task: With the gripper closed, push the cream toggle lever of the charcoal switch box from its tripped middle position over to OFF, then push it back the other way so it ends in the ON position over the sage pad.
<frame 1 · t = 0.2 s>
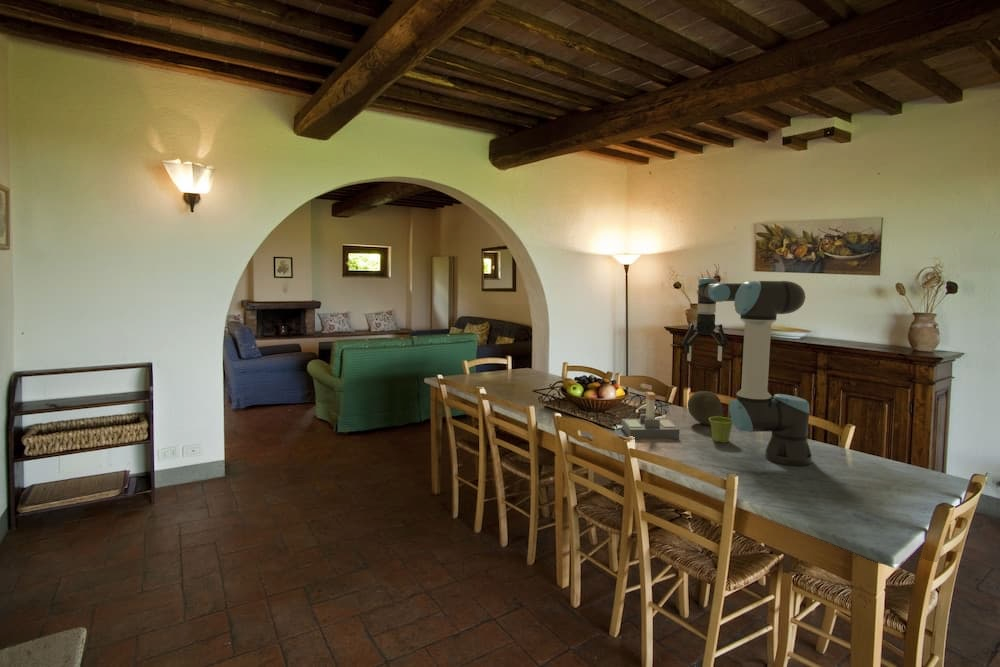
hand: (704, 360, 250), 28 cm above the table, fingers open, 13 cm apart
switch box: (649, 433, 237), on the table
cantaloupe: (704, 424, 250), on the table
plant pot: (720, 440, 227), on the table
toggle lever: (650, 408, 235), point 11 cm above the table, hinge at 0.0°
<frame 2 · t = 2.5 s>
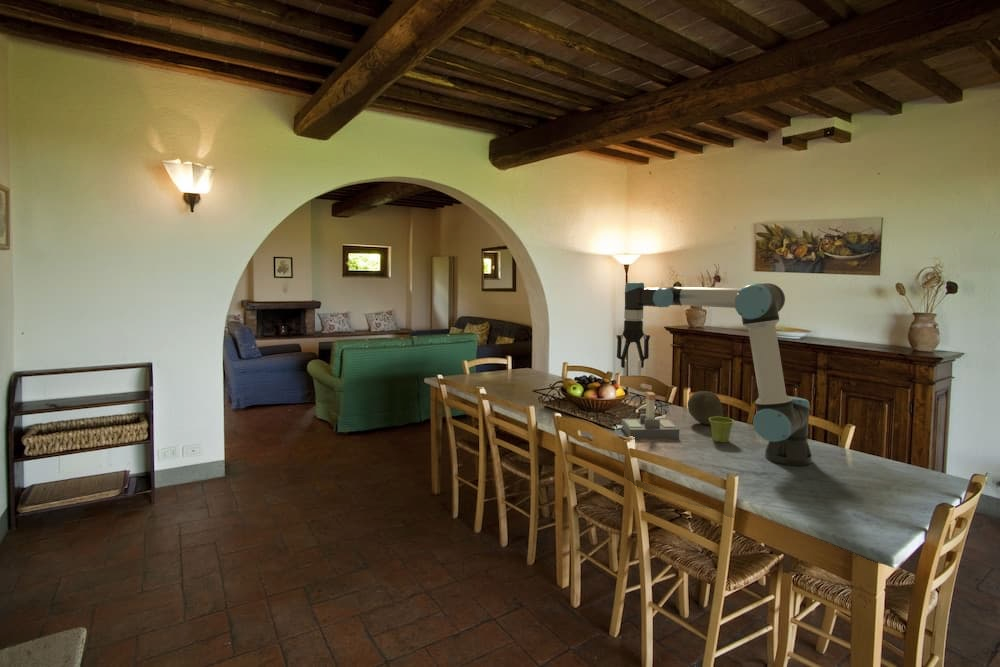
hand: (632, 375, 234), 25 cm above the table, fingers open, 5 cm apart
nothing on the table moved.
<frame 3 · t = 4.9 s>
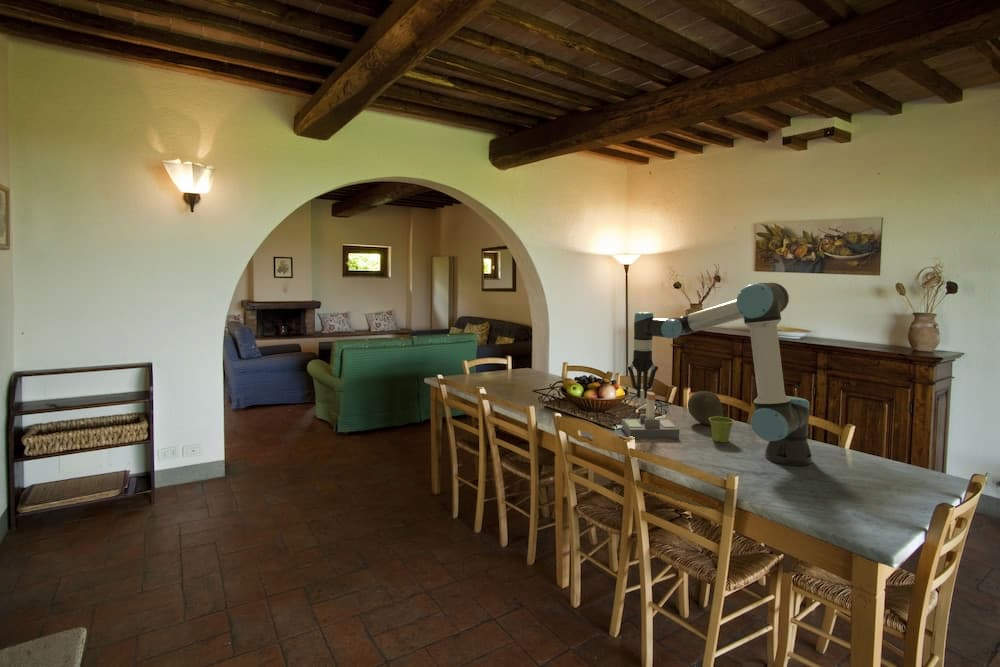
hand: (641, 405, 235), 12 cm above the table, fingers closed
toggle lever: (650, 408, 235), point 11 cm above the table, hinge at 0.0°, touching gripper
everything else where it was.
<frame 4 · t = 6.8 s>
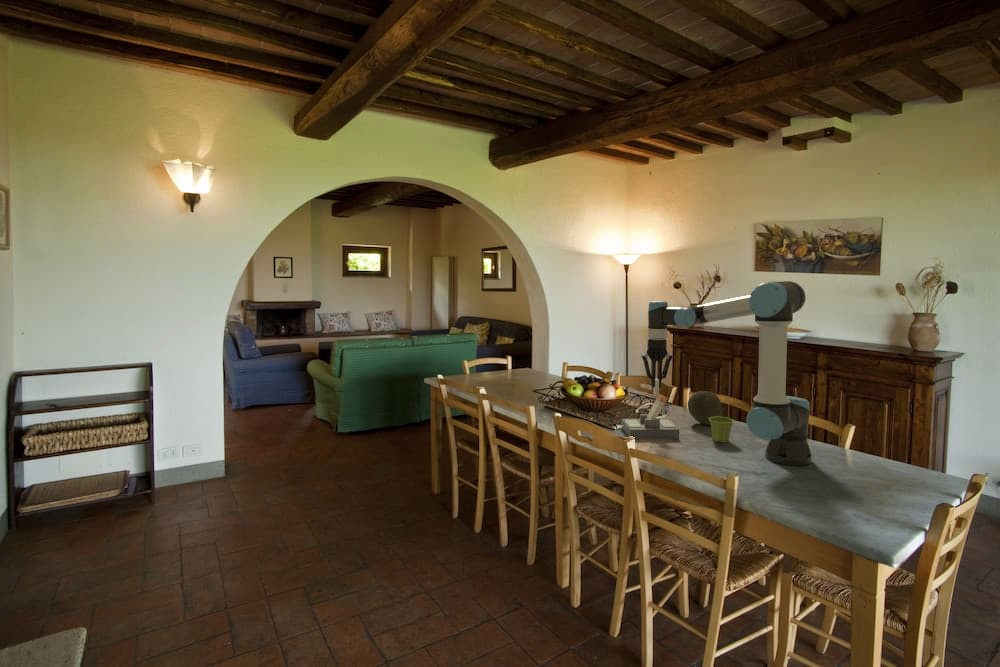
hand: (656, 394, 234), 17 cm above the table, fingers closed
toggle lever: (655, 409, 235), point 10 cm above the table, hinge at -27.1°
everything else where it was.
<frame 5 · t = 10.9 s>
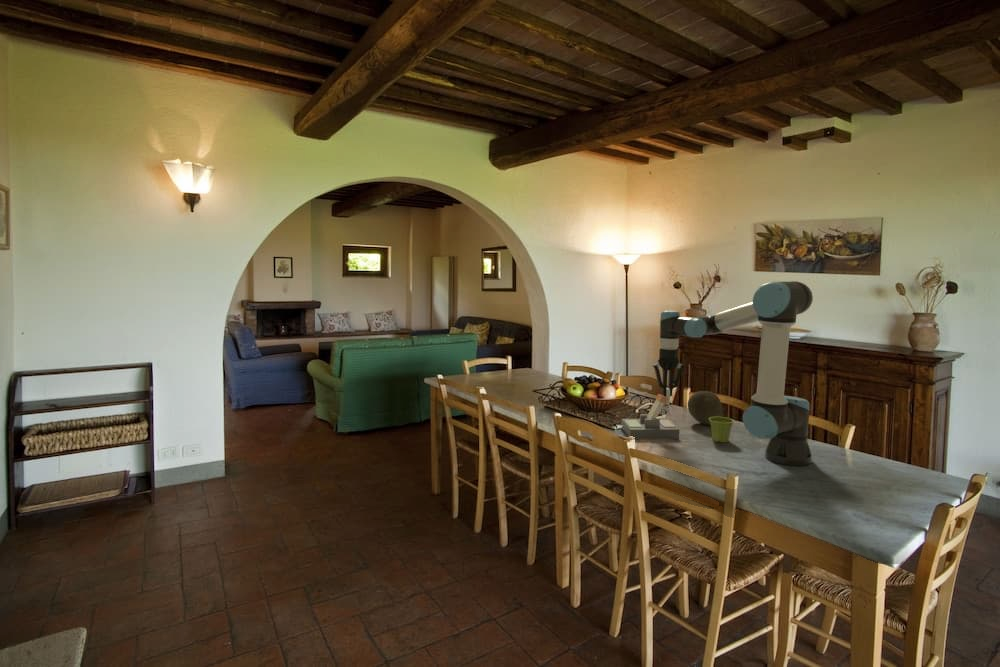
hand: (667, 403, 235), 13 cm above the table, fingers closed
toggle lever: (655, 409, 235), point 10 cm above the table, hinge at -27.0°, touching gripper
everything else where it was.
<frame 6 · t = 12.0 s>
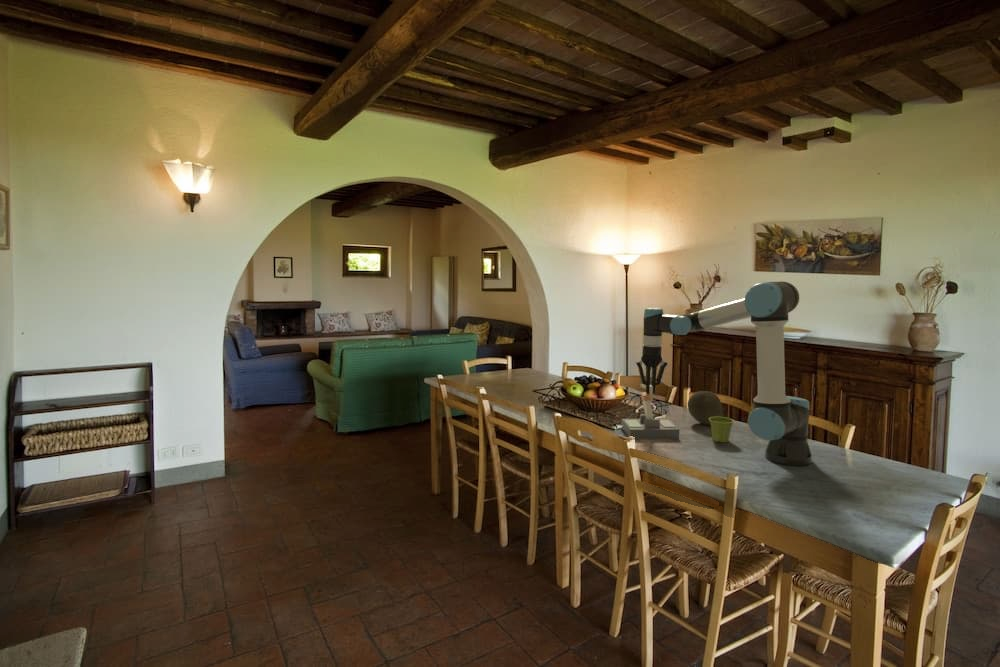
hand: (649, 400, 235), 14 cm above the table, fingers closed
toggle lever: (647, 408, 235), point 11 cm above the table, hinge at 11.1°, touching gripper
everything else where it was.
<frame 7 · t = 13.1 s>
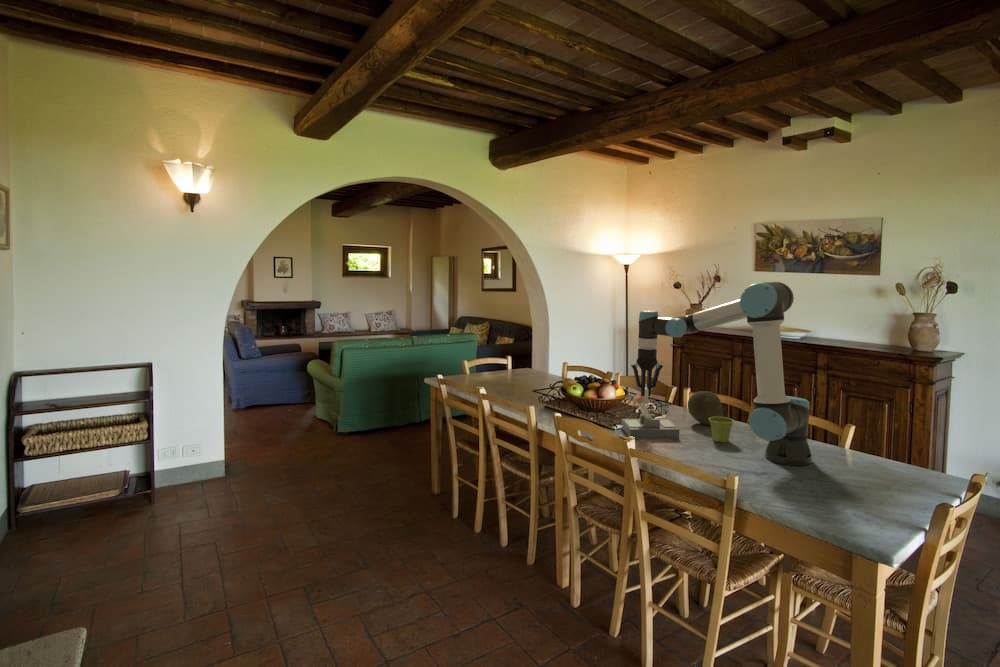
hand: (645, 403, 235), 13 cm above the table, fingers closed
toggle lever: (644, 409, 235), point 10 cm above the table, hinge at 28.3°, touching gripper
everything else where it was.
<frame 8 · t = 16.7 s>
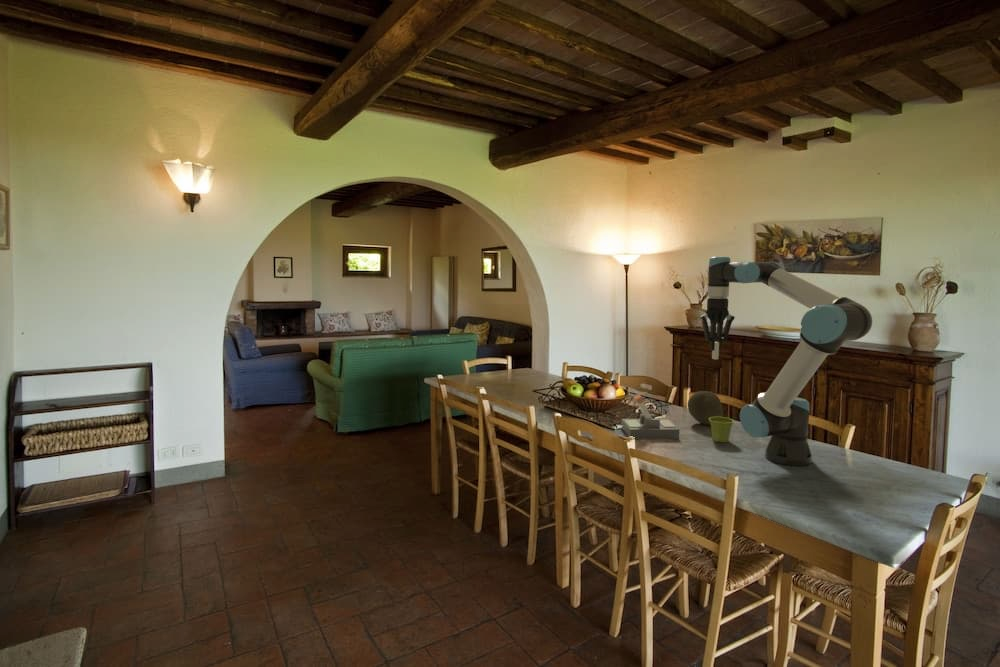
hand: (715, 358, 217), 34 cm above the table, fingers closed
toggle lever: (644, 409, 235), point 10 cm above the table, hinge at 28.3°
everything else where it was.
at the end: toggle lever at +28° (first picture: +0°) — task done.
